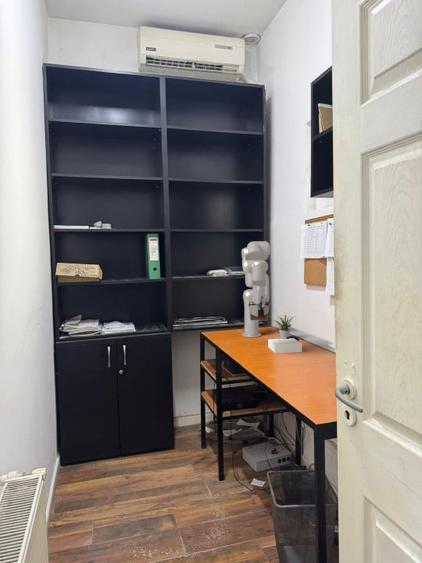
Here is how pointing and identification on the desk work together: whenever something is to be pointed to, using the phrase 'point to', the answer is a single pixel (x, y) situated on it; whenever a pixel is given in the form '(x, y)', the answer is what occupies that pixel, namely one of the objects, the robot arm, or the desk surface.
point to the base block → (284, 345)
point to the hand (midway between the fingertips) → (259, 315)
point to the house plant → (284, 327)
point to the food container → (254, 311)
